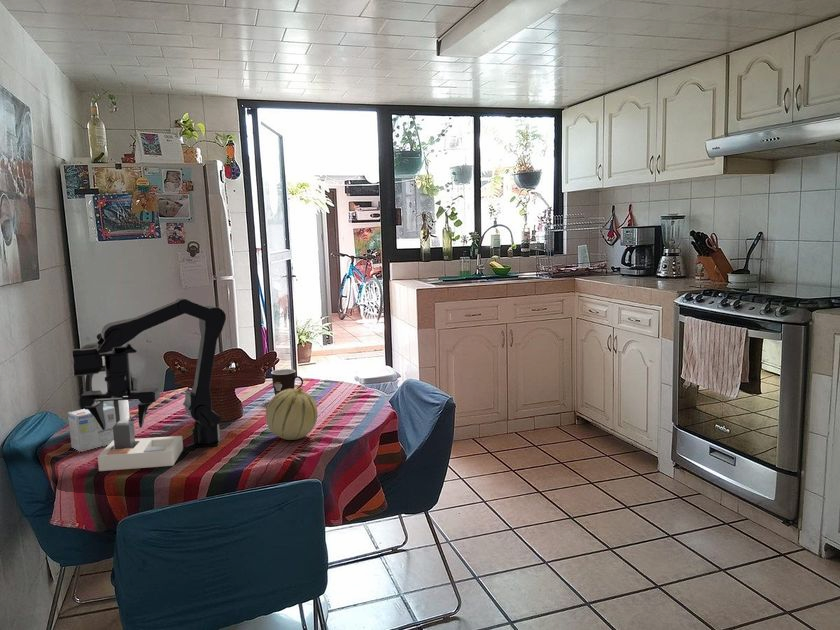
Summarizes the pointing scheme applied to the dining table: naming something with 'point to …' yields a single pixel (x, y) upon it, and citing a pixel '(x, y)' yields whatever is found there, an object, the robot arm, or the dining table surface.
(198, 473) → the dining table surface
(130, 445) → the grey rectangular block
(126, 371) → the robot arm
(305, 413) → the cantaloupe
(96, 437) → the light bulb box
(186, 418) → the dining table surface
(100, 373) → the coffee press
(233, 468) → the dining table surface
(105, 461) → the socket block
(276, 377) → the coffee mug
